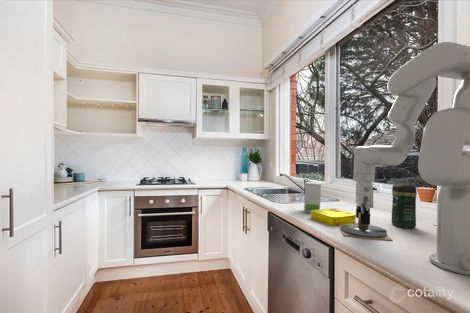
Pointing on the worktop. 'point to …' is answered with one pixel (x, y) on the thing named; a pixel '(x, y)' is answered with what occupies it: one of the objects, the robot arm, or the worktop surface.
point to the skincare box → (312, 196)
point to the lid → (363, 229)
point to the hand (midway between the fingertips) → (362, 220)
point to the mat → (365, 237)
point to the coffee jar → (404, 205)
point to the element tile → (333, 216)
